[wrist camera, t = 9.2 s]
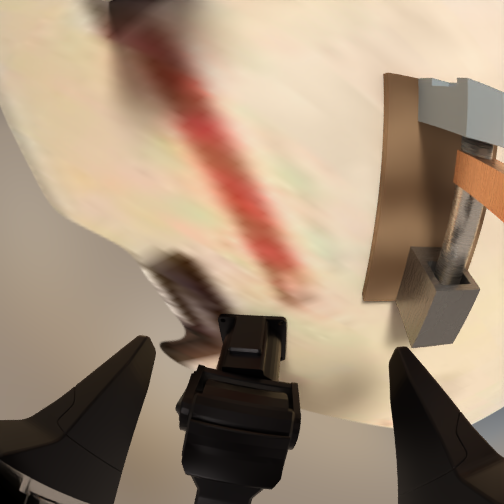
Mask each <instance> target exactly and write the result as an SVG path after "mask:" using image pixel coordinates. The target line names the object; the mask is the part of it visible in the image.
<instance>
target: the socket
mask: <svg viewBox="0 0 504 504" xmlns="http://www.w3.org/2000/svg"><path fill="white" fill-rule="evenodd" d="M418 86H419V104H418V121H419V122H423V123H426V124H429V125H433V126H436V127H439V128H442V129H445V130H448V131H451V132H454V133H456V134H459V135H462V136H464V137H468V138H472V139H476V140H479V141H483V142H487V143H490V144H493V145H497V146H500V147H503V148H504V92H501V91H499V90H497V89H495V88H492V87H490V86H487V85H485V84H482V83H480V82H477V81H474V80H472V79H469V78H457V83H448V82H445V81H441V80H437V79H434V78H420V79H418Z"/></svg>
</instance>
